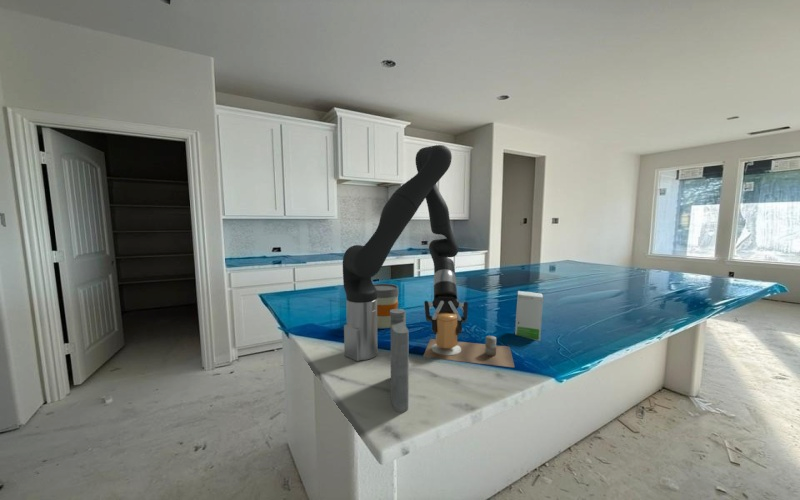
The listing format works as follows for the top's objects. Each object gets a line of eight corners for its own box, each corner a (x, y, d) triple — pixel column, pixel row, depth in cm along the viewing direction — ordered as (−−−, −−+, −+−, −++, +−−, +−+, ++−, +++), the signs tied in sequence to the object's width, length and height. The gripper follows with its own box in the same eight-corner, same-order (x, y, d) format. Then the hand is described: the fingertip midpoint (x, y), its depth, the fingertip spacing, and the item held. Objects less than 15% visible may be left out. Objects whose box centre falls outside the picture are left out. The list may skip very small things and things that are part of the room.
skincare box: (514, 338, 106) (516, 294, 104) (515, 332, 112) (516, 290, 110) (541, 342, 102) (543, 296, 101) (540, 335, 109) (542, 292, 107)
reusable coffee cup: (398, 330, 113) (398, 290, 112) (365, 330, 113) (364, 290, 112) (399, 319, 126) (399, 283, 124) (368, 319, 126) (368, 283, 124)
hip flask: (408, 412, 65) (409, 321, 63) (389, 412, 65) (389, 321, 63) (405, 374, 81) (405, 301, 79) (389, 375, 81) (389, 301, 79)
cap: (449, 349, 89) (449, 319, 88) (432, 344, 93) (432, 315, 92) (459, 343, 93) (460, 314, 92) (443, 338, 97) (443, 310, 96)
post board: (509, 351, 95) (510, 331, 94) (514, 372, 82) (515, 349, 81) (430, 343, 101) (430, 324, 101) (422, 361, 88) (422, 340, 87)
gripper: (423, 279, 99) (422, 327, 88) (468, 280, 98) (473, 329, 87) (423, 291, 105) (422, 338, 94) (465, 292, 104) (469, 339, 93)
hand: (446, 333), depth 91 cm, fingers closed on cap, 6 cm apart
